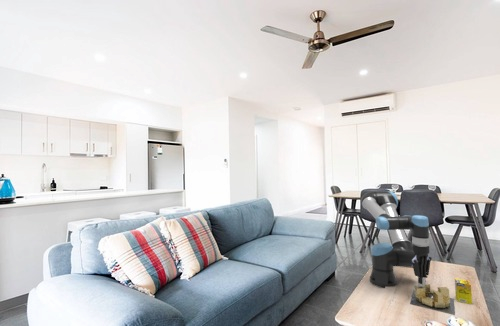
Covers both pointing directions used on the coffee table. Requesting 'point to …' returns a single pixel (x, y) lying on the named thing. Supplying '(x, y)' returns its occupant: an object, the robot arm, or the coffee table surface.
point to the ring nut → (439, 296)
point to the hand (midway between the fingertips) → (422, 289)
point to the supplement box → (463, 291)
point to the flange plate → (449, 309)
